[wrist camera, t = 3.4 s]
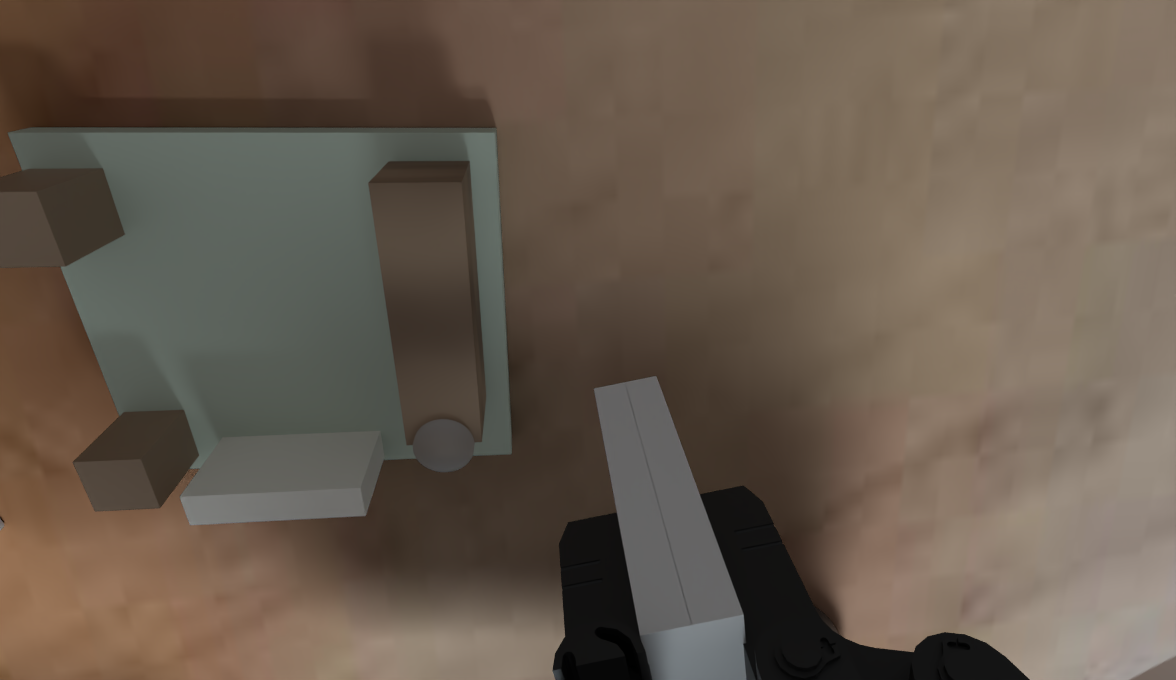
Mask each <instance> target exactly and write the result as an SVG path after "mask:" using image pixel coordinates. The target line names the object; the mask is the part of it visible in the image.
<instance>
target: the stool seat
mask: <svg viewBox="0 0 1176 680" xmlns="http://www.w3.org/2000/svg"><path fill="white" fill-rule="evenodd" d="M8 135H9V138H10V140H11V143H12V145H13V148H14V151H15V153H16V156H17V158H18V161H19V163H20V166H21V168H22V171H20V172H16V173H13V174H10V175H6V176H3V177H0V268H15V267H61V270H62V272H63V275H64V277H65V280H66V282H67V285H68V287H69V290H70V292H71V295H72V297H73V300H74V302H75V305H76V308H77V310H78V313H79V315H80V318H81V320H82V323H83V325H84V328H85V330H86V333H87V335H88V338H89V340H90V343H91V346H92V348H93V351H94V353H95V356H96V358H97V361H98V363H99V366H100V368H101V371H102V373H103V376H104V378H105V381H106V384H107V386H108V389H109V391H110V394H111V396H112V399H113V401H114V404H115V406H116V409H117V411H118V414H119V417H118V418H117V419H116V420H115V421H114V422H113V423H112V424H111V425H110V426H109V427H108V428H107V429H106V430H105V431H104V432H103V433H102V434H101V435H100V436H99V437H98V438H97V439H96V440H95V441H94V442H93V443H92V444H91V445H90V446H89V447H88V448H87V449H86V450H85V451H84V452H83V453H82V454H81V455H80V456H79V457H78V458H76V459H75V460H74V461H73V464H74V466H75V469H76V471H77V473H78V475H79V477H80V480H81V482H82V484H83V486H84V488H85V491H86V493H87V495H88V497H89V499H90V502H91V504H92V506H93V508H94V510H95V511H114V510H134V509H153V508H160V507H161V506H162V505H163V503H164V502H165V501H166V499H167V498H168V497H169V495H170V494H171V493H172V491H173V490H174V489H175V487H176V486H177V485H178V483H179V482H180V481H181V479H182V478H183V477H184V475H185V474H186V473H187V471H188V470H189V469H199V468H200V469H199V471H198V472H197V473H196V475H195V476H194V478H193V479H192V480H191V482H190V483H189V484H188V486H187V487H186V489H185V490H184V491H183V493H182V494H181V496H180V499H181V502H182V505H183V508H184V510H185V513H186V516H187V518H188V521H189V524H190V525H205V524H224V523H243V522H261V521H280V520H299V519H318V518H336V517H355V516H366V514H367V511H368V508H369V504H370V501H371V498H372V495H373V492H374V489H375V486H376V482H377V479H378V476H379V473H380V470H381V467H382V463H383V460H396V459H416V457H415V455H414V452H413V445H406V439H405V432H404V425H403V418H402V411H401V405H400V398H399V391H398V384H397V377H396V370H395V364H394V357H393V350H392V343H391V336H390V329H389V322H388V316H387V309H386V302H385V295H384V288H383V281H382V275H381V268H380V261H379V254H378V247H377V240H376V234H375V227H374V220H373V213H372V206H371V199H370V192H369V186H368V182H369V181H370V180H371V179H372V178H373V177H374V176H375V175H376V174H377V173H378V172H379V171H380V170H381V169H382V168H383V167H384V166H385V165H386V164H387V163H388V162H389V161H470V172H471V186H472V200H473V214H474V228H475V243H476V257H477V271H478V285H479V299H480V313H481V327H482V341H483V356H484V370H485V384H486V405H485V415H484V426H483V436H482V442H475V445H474V453H473V456H483V455H505V454H512V428H511V408H510V389H509V369H508V349H507V329H506V309H505V290H504V270H503V250H502V230H501V210H500V191H499V171H498V151H497V131H496V128H142V127H31V128H26V129H22V130H17V131H12V132H8Z"/></svg>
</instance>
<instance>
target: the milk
mask: <svg viewBox="0 0 1176 680" xmlns="http://www.w3.org/2000/svg"><path fill="white" fill-rule="evenodd" d="M3 527H4V523H3V522H2V520H1V519H0V530H1V529H2V528H3Z"/></svg>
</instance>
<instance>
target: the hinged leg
mask: <svg viewBox="0 0 1176 680" xmlns="http://www.w3.org/2000/svg"><path fill="white" fill-rule="evenodd" d="M368 186H369V192H370V199H371V206H372V213H373V220H374V227H375V234H376V240H377V247H378V254H379V261H380V268H381V275H382V281H383V288H384V295H385V302H386V309H387V316H388V322H389V329H390V336H391V343H392V350H393V357H394V364H395V370H396V377H397V384H398V391H399V398H400V405H401V411H402V418H403V425H404V432H405V439H406V445H413V452H414V455H415V457H416V459H417V460H418V461H419V462H420V463H421V464H422V465H423V466H425V467H426V468H428V469H430V470H433V471H437V472H451V471H455V470H458V469H460V468H462V467H464V466H465V465H466V464H467V463H468V462H469V461H470V460H471V458H472V456H473V453H474V445H475V442H482V436H483V426H484V415H485V405H486V384H485V370H484V356H483V341H482V327H481V313H480V299H479V285H478V271H477V257H476V243H475V228H474V214H473V200H472V186H471V172H470V161H389V162H388V163H387V164H386V165H385V166H384V167H383V168H382V169H381V170H380V171H379V172H378V173H377V174H376V175H375V176H374V177H373V178H372V179H371V180H370V181H369V182H368Z"/></svg>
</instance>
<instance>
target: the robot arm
mask: <svg viewBox="0 0 1176 680" xmlns="http://www.w3.org/2000/svg"><path fill="white" fill-rule="evenodd" d="M594 392H595V398H596V403H597V409H598V414H599V419H600V425H601V430H602V435H603V441H604V446H605V451H606V457H607V462H608V467H609V473H610V478H611V483H612V489H613V494H614V499H615V505H616V510H617V513H612V514H607V515H602V516H597V517H593V518H588V519H583V520H578V521H573V522H568V524H567V526H566V529H565V531H564V534H563V536H562V538H561V541H560V543H559V551H560V566H561V580H562V589H563V591H562V595H563V610H564V625H565V638H564V639H563V641H562V643H561V644H560V646H559V648H558V650H557V651H556V653H555V658H554V665H553V673H554V676H555V680H1030V679H1028V678H1027V677H1026V676H1025V675H1024V674H1023V673H1022V672H1021V671H1020V670H1019V669H1018V668H1017V667H1016V666H1015V665H1014V664H1013V663H1011V662H1010V661H1009V660H1008V659H1007V658H1006V657H1005V656H1004V655H1002V654H1001V653H1000V652H998V651H997V650H995V649H994V648H993V647H991V646H990V645H988V644H987V643H985V642H983V641H980V640H978V639H975V638H973V637H970V636H968V635H965V634H955V633H946V632H944V633H940V634H936V635H932V636H928V637H927V638H925V639H924V640H923V641H922V642H921V643H919V644H918V645H917V646H916V648H915V651H914V652H906V651H897V650H889V649H880V648H873V647H868V646H864V645H859V644H857V643H855V642H852V641H850V640H847V639H845V638H844V637H842V636H841V635H839V634H838V632H837V630H836V628H835V626H834V625H833V623H832V622H831V621H830V619H829V618H828V617H827V616H826V615H825V614H824V613H823V612H821V611H820V610H819V609H817V608H816V607H814V605H813V603H812V601H811V599H810V597H809V595H808V593H807V591H806V589H805V587H804V585H803V583H802V581H801V579H800V577H799V575H798V573H797V571H796V568H795V566H794V564H793V562H792V560H791V558H790V556H789V554H788V552H787V550H786V548H785V546H784V545H783V544H782V540H781V538H780V536H779V534H778V532H777V530H776V528H775V527H774V525H773V522H772V519H771V517H770V515H769V513H768V511H767V509H766V507H765V505H764V503H763V502H762V501H761V500H760V499H759V498H758V497H757V496H755V495H754V494H753V493H752V492H751V491H749V490H748V489H747V488H746V487H745V486H739V487H734V488H729V489H724V490H719V491H714V492H709V493H704V494H699V491H698V489H697V486H696V483H695V480H694V478H693V475H692V472H691V469H690V467H689V464H688V461H687V458H686V456H685V453H684V450H683V448H682V445H681V442H680V439H679V437H678V434H677V431H676V428H675V426H674V423H673V420H672V417H671V415H670V412H669V409H668V407H667V404H666V401H665V398H664V396H663V393H662V390H661V387H660V385H659V382H658V379H657V376H653V377H648V378H643V379H638V380H633V381H628V382H624V383H619V384H614V385H609V386H604V387H599V388H594Z"/></svg>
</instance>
